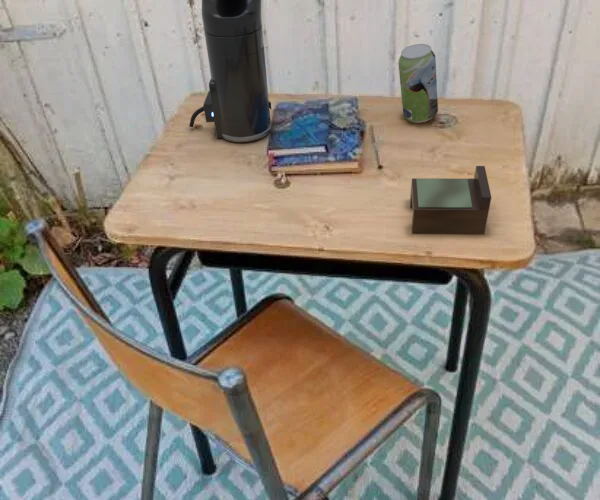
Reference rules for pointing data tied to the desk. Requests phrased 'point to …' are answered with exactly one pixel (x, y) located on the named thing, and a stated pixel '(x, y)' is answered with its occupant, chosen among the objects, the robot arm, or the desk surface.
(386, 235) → the desk surface
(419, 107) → the beverage can
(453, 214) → the miniature bed
